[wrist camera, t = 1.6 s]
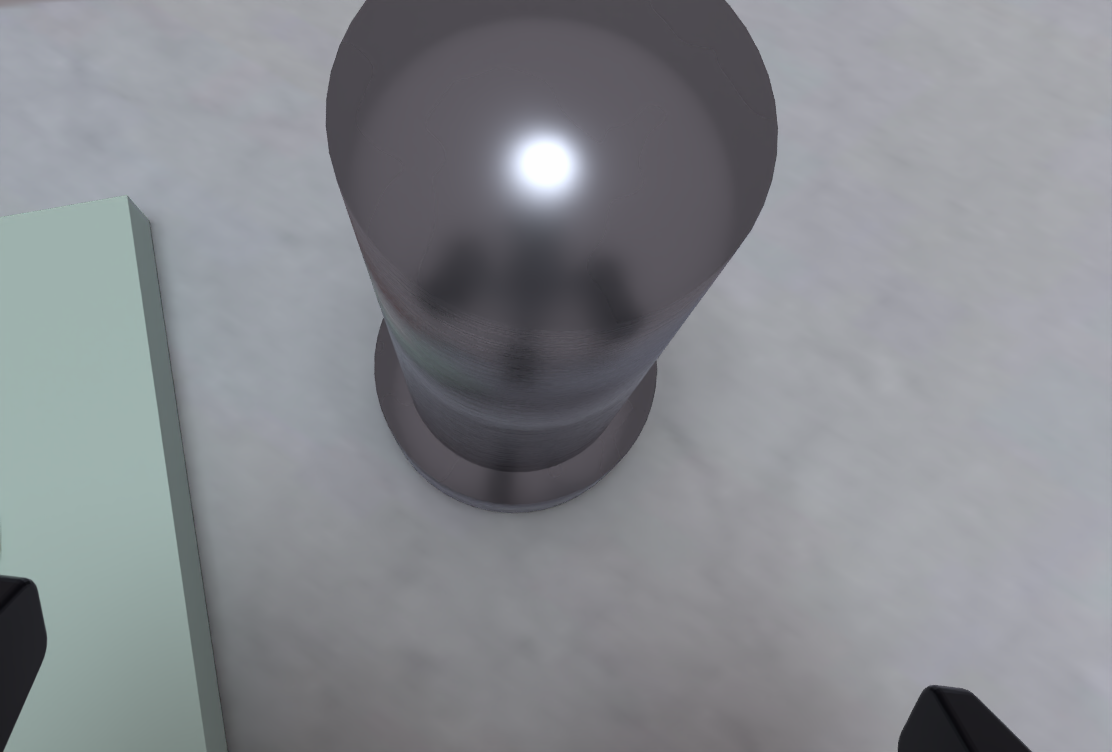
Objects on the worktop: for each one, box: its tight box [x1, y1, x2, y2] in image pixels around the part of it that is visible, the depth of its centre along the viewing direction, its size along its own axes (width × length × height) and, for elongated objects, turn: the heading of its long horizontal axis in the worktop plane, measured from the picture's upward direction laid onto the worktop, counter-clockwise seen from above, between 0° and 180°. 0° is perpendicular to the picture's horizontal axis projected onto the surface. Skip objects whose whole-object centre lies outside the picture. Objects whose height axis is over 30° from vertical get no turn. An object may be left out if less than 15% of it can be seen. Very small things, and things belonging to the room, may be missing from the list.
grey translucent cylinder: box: [326, 0, 778, 513], centre depth 16 cm, size 6×6×13 cm
